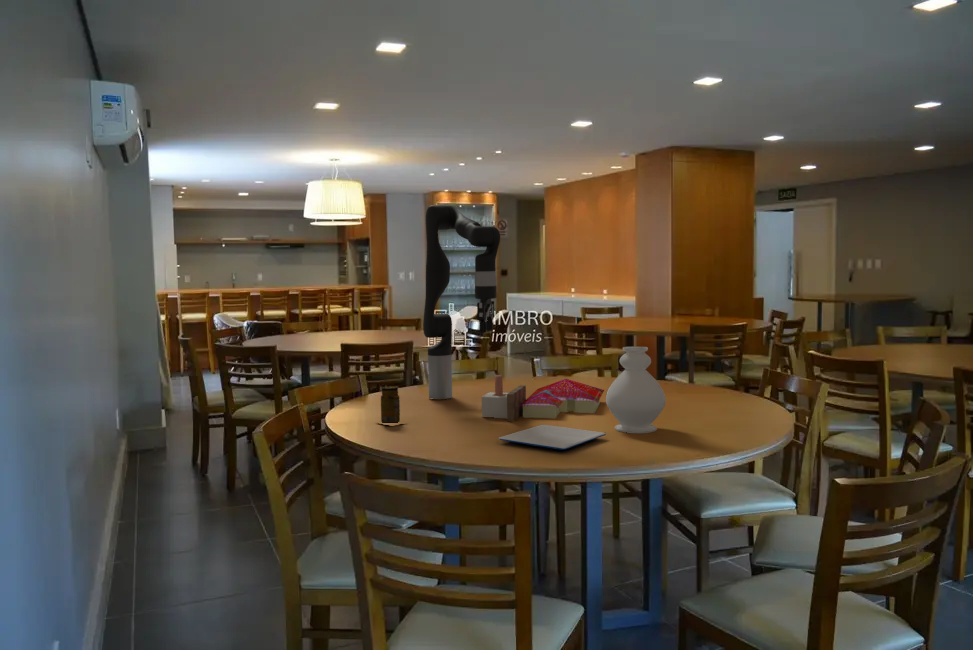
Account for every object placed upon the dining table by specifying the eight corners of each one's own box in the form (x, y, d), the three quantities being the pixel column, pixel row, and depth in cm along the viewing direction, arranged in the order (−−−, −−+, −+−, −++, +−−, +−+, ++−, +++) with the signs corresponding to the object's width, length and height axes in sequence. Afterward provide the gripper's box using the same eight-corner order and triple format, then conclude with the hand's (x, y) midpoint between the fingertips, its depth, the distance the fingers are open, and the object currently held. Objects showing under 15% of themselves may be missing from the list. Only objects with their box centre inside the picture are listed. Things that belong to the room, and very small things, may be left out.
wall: (520, 410, 258) (520, 385, 258) (526, 410, 258) (525, 385, 257) (507, 421, 239) (506, 394, 238) (513, 421, 239) (512, 394, 238)
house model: (595, 421, 239) (594, 390, 238) (518, 419, 245) (518, 388, 244) (604, 401, 276) (604, 374, 275) (537, 400, 282) (537, 373, 281)
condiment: (394, 420, 245) (393, 385, 244) (408, 424, 238) (407, 387, 237) (375, 423, 240) (374, 387, 239) (389, 427, 233) (387, 390, 233)
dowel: (496, 410, 252) (495, 375, 251) (504, 410, 251) (503, 375, 250) (494, 411, 249) (493, 376, 248) (502, 411, 248) (501, 376, 248)
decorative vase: (594, 429, 225) (593, 348, 223) (631, 421, 236) (630, 343, 234) (640, 438, 211) (640, 351, 209) (677, 429, 222) (677, 347, 221)
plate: (542, 430, 225) (542, 424, 225) (606, 439, 211) (606, 432, 210) (497, 444, 207) (497, 437, 207) (564, 455, 193) (564, 447, 193)
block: (489, 412, 256) (489, 392, 256) (517, 412, 254) (517, 392, 253) (482, 417, 246) (481, 396, 246) (510, 418, 244) (510, 397, 243)
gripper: (491, 285, 243) (491, 333, 244) (501, 284, 257) (501, 330, 258) (469, 285, 245) (470, 333, 246) (480, 284, 259) (481, 330, 260)
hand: (486, 331), depth 252 cm, fingers open, 8 cm apart
